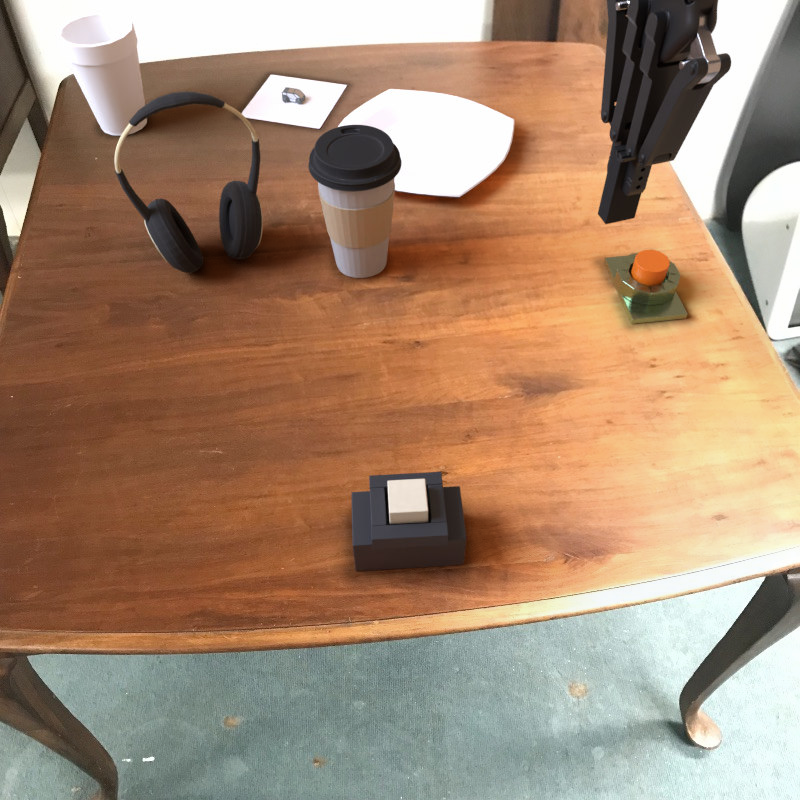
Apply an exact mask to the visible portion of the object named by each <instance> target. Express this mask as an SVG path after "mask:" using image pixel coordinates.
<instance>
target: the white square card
mask: <svg viewBox="0 0 800 800" xmlns="http://www.w3.org/2000/svg"><path fill="white" fill-rule="evenodd" d="M347 86H348V84H342V83H334V82H328V81H321V80H315V79H307V78H299V77H292V76H286V75H280V74H279V75H278V74H270V75H269V76H268V77H267V79H266V80H265V82H264V83H263V84H262V86H261V87H260V88H259V90H258V91H257V92H256V93H255V94H254V96H253V98H252V99H250V101H249V102H248V103H247V105H246V106H245V108H244V109H243V110H242V112H240V113H241V114H242V115H243V116H244V117H245V118H246V119H253V120H259V121H264V122H265V121H266V122H272V123H279V124H285V125H293V126H298V127H304V128H312V129H318V130H319V129H321V127H322V126H323V124H324V123H325V121H326V119H327V118H328V116H329V115H330V113H331V112H332V110H333V109H334V107H335V105H336V104H337V102H338V101H339V99H340V97H341V96H342V94H343V93H344V91H345V90H346V88H347Z"/></svg>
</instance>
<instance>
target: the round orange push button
mask: <svg viewBox="0 0 800 800" xmlns="http://www.w3.org/2000/svg"><path fill="white" fill-rule="evenodd" d="M637 253H638V254H637V255H636V257H635V260H634V263H633V267H632V270H631V275H632V277H633V279H634V280H636V281H637V282H639V283H641V284H645V285H649V286H653V285H659V284H661V283H662V282H663V281H664V280H665V277H666V274H667V271H668V268H669V265H670V261H671V260H670V259H669V257H668V256H667V255H666V254H665V253H663V252H661V251H659V250H655V249H644V250H641V251H638V252H637Z"/></svg>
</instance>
